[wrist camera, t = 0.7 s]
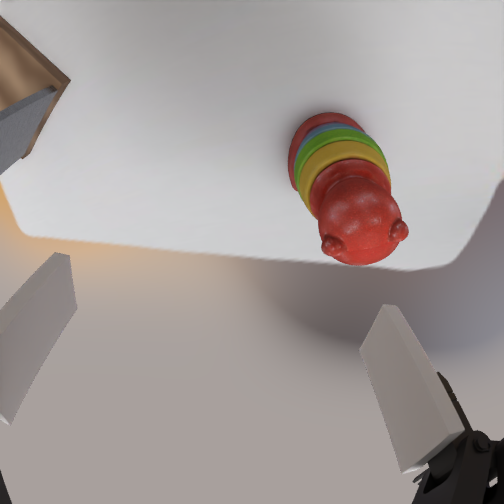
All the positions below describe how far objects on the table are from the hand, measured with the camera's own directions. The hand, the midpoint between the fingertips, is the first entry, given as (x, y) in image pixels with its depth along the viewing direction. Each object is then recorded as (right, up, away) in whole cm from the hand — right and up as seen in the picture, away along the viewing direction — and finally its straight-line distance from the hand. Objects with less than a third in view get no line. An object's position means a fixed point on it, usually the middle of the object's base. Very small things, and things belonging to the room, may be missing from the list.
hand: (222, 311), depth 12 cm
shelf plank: (-32, +26, +14) cm, 44 cm away
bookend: (-27, +19, +17) cm, 37 cm away
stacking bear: (+10, +14, +22) cm, 28 cm away
